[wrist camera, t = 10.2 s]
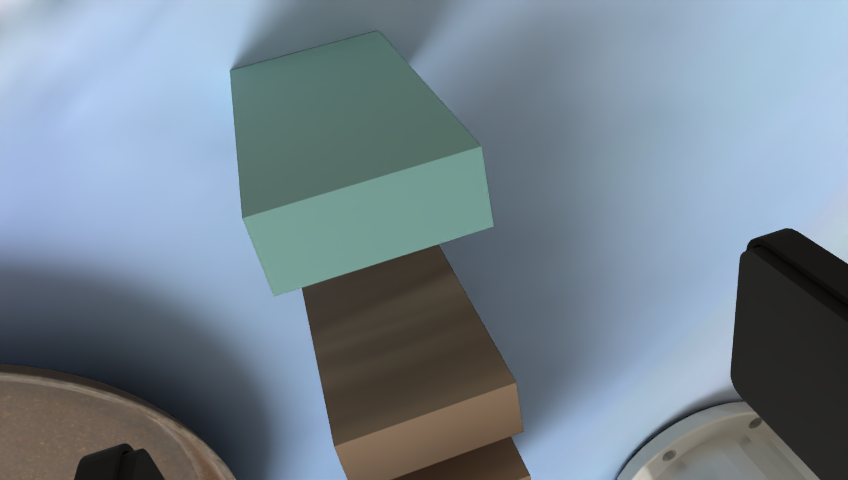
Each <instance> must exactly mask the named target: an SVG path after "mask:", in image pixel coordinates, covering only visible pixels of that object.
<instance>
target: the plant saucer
mask: <svg viewBox="0 0 848 480" xmlns="http://www.w3.org/2000/svg"><path fill="white" fill-rule="evenodd" d="M123 443H127V444H129V445H130V446H131V447H132V448H133V449H134V450H138V449H142V448H143V449H145V450H146V451H147V452H148V453H149V455H150V456H151V458H152V459H153V461H154V463H155V464H156V466H157V467H158V469H159V470H160V472H161V474H162V475H163V477H164V478H165V480H236V478H235V476H234V475H233V473H232V472H231V470H230V469H229V468H228V466H227V465H226V464H225V463H224V461H223V460H222V459H221V458H220V457H219V456H218V455H217V454H216V452H215V451H214V450H213V449H212V448H211V447H210V446H209V445H208V444H207V443H206V442H205V441H204V440H203V439H202V438H201V437H199V436H198V435H197V434H196V433H195V432H194V431H192V430H191V429H190V428H189V427H187V426H186V425H185V424H183V423H182V422H180V421H179V420H178V419H176V418H175V417H173V416H172V415H170V414H169V413H167V412H165V411H164V410H162V409H160V408H158V407H157V406H155V405H153V404H151V403H149V402H148V401H146V400H143V399H141V398H139V397H137V396H135V395H133V394H131V393H129V392H126V391H124V390H121V389H119V388H116V387H114V386H111V385H108V384H105V383H102V382H99V381H96V380H92V379H89V378H85V377H81V376H78V375H74V374H70V373H65V372H61V371H56V370H50V369H44V368H38V367H31V366H22V365H10V364H0V480H74V478H75V474H76V470H77V466H78V464H79V461H80V459H82V458H83V457H84V456H86V455H89V454H92V453H95V452H98V451H101V450H104V449H107V448H110V447H114V446H117V445H120V444H123Z"/></svg>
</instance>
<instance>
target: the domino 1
mask: <svg viewBox="0 0 848 480" xmlns="http://www.w3.org/2000/svg"><path fill="white" fill-rule="evenodd" d="M302 291H303V296H304V301H305V306H306V311H307V316H308V320H309V325H310V330H311V335H312V340H313V345H314V350H315V355H316V360H317V365H318V370H319V375H320V379H321V384H322V389H323V394H324V399H325V404H326V409H327V414H328V419H329V424H330V429H331V434H332V439H333V443H334V447H335V450H336V452H337V455H338V457H339V460H340V462H341V465H342V467H343V470H344V472H345V474H346V477H347V479H348V480H391V479H394V478H397V477H399V476H402V475H405V474H408V473H410V472H413V471H416V470H419V469H421V468H424V467H427V466H430V465H432V464H435V463H438V462H441V461H444V460H446V459H449V458H452V457H455V456H457V455H460V454H463V453H466V452H468V451H471V450H474V449H477V448H479V447H482V446H485V445H488V444H490V443H493V442H496V441H499V440H501V439H504V438H507V437H510V436H513V435H515V434H518V433H521V432H524V431H523V425H522V418H521V411H520V404H519V398H518V391H517V384H516V381H515V379H514V378H513V376H512V374H511V372H510V371H509V369H508V367H507V365H506V364H505V362H504V360H503V358H502V356H501V355H500V353H499V351H498V349H497V348H496V346H495V344H494V342H493V340H492V339H491V337H490V335H489V333H488V332H487V330H486V328H485V326H484V324H483V323H482V321H481V319H480V317H479V316H478V314H477V312H476V310H475V308H474V307H473V305H472V303H471V301H470V300H469V298H468V296H467V294H466V293H465V291H464V289H463V287H462V285H461V284H460V282H459V280H458V278H457V277H456V275H455V273H454V271H453V269H452V268H451V266H450V264H449V262H448V261H447V259H446V257H445V255H444V253H443V252H442V250H441V248H440V246H439V245H438V244H437V245H434V246H431V247H428V248H425V249H422V250H419V251H415V252H412V253H409V254H406V255H403V256H400V257H397V258H393V259H390V260H387V261H384V262H381V263H378V264H375V265H371V266H368V267H365V268H362V269H359V270H356V271H353V272H349V273H346V274H343V275H340V276H337V277H334V278H331V279H327V280H324V281H321V282H318V283H315V284H312V285H309V286H305V287H302Z"/></svg>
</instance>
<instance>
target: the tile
mask: <svg viewBox="0 0 848 480" xmlns="http://www.w3.org/2000/svg"><path fill="white" fill-rule="evenodd" d="M230 78H231V90H232V102H233V113H234V125H235V137H236V149H237V161H238V173H239V185H240V197H241V209H242V219H243V221H244V224H245V226H246V229H247V231H248V234H249V236H250V238H251V241H252V243H253V246H254V248H255V251H256V253H257V256H258V258H259V261H260V263H261V266H262V268H263V270H264V273H265V275H266V278H267V280H268V283H269V285H270V288H271V290H272V293H273V295H274V296H277V295H280V294H283V293H287V292H290V291H293V290H296V289H299V288H302V287H305V286H309V285H312V284H315V283H318V282H321V281H324V280H327V279H331V278H334V277H337V276H340V275H343V274H346V273H349V272H353V271H356V270H359V269H362V268H365V267H368V266H371V265H375V264H378V263H381V262H384V261H387V260H390V259H393V258H397V257H400V256H403V255H406V254H409V253H412V252H415V251H419V250H422V249H425V248H428V247H431V246H434V245H437V244H441V243H444V242H447V241H450V240H453V239H456V238H459V237H463V236H466V235H469V234H472V233H475V232H478V231H481V230H485V229H488V228H491V227H494V225H493V219H492V212H491V205H490V199H489V192H488V185H487V178H486V172H485V165H484V158H483V152H482V146H481V145H480V144H479V143H478V142H477V140H476V139H475V138H474V137H473V136H472V135H471V134H470V133H469V131H468V130H467V129H466V128H465V127H464V126H463V125H462V124H461V122H460V121H459V120H458V119H457V118H456V117H455V116H454V115H453V113H452V112H451V111H450V110H449V109H448V108H447V107H446V106H445V105H444V103H443V102H442V101H441V100H440V99H439V98H438V97H437V96H436V94H435V93H434V92H433V91H432V90H431V89H430V88H429V87H428V85H427V84H426V83H425V82H424V81H423V80H422V79H421V78H420V76H419V75H418V74H417V73H416V72H415V71H414V70H413V69H412V67H411V66H410V65H409V64H408V63H407V62H406V61H405V60H404V58H403V57H402V56H401V55H400V54H399V53H398V52H397V51H396V49H395V48H394V47H393V46H392V45H391V44H390V43H389V42H388V40H387V39H386V38H385V37H384V36H383V35H382V34H381V33H380V31H379V30H378V31H374V32H370V33H367V34H363V35H359V36H356V37H352V38H348V39H344V40H341V41H337V42H333V43H330V44H326V45H322V46H319V47H315V48H311V49H308V50H304V51H300V52H296V53H293V54H289V55H285V56H282V57H278V58H274V59H271V60H267V61H263V62H259V63H256V64H252V65H248V66H245V67H241V68H237V69H234V70H230Z"/></svg>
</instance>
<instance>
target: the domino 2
mask: <svg viewBox="0 0 848 480" xmlns="http://www.w3.org/2000/svg"><path fill="white" fill-rule="evenodd" d="M391 480H531V477H530V474H529V472H528V470H527V468H526V466H525V464H524V462H523V460H522V458H521V456H520V454H519V452H518V450H517V448H516V446H515V444H514V442H513V440H512V438H511V436H510V437H507V438H504V439H501V440H499V441H496V442H493V443H490V444H488V445H485V446H482V447H479V448H477V449H474V450H471V451H468V452H466V453H463V454H460V455H457V456H455V457H452V458H449V459H446V460H444V461H441V462H438V463H435V464H432V465H430V466H427V467H424V468H421V469H419V470H416V471H413V472H410V473H408V474H405V475H402V476H399V477H397V478H394V479H391Z"/></svg>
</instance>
